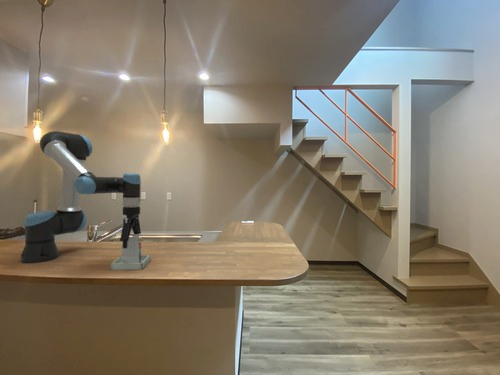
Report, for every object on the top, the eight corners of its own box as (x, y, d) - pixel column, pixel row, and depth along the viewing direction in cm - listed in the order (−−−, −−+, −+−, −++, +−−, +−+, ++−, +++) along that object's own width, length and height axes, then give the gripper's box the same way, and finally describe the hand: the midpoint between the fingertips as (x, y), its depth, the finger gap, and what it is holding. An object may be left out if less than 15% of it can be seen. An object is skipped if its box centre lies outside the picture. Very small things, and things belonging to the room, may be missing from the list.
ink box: (124, 262, 127) (124, 232, 127) (141, 262, 128) (141, 232, 127) (121, 265, 124) (121, 234, 123) (138, 265, 124) (139, 234, 124)
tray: (110, 270, 118) (110, 263, 118) (121, 261, 131) (121, 255, 131) (142, 269, 120) (142, 263, 120) (150, 260, 133) (150, 255, 133)
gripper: (130, 209, 113) (130, 258, 113) (147, 203, 138) (146, 244, 138) (112, 209, 112) (111, 258, 113) (132, 203, 137) (131, 244, 138)
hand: (131, 251), depth 125 cm, fingers open, 13 cm apart
